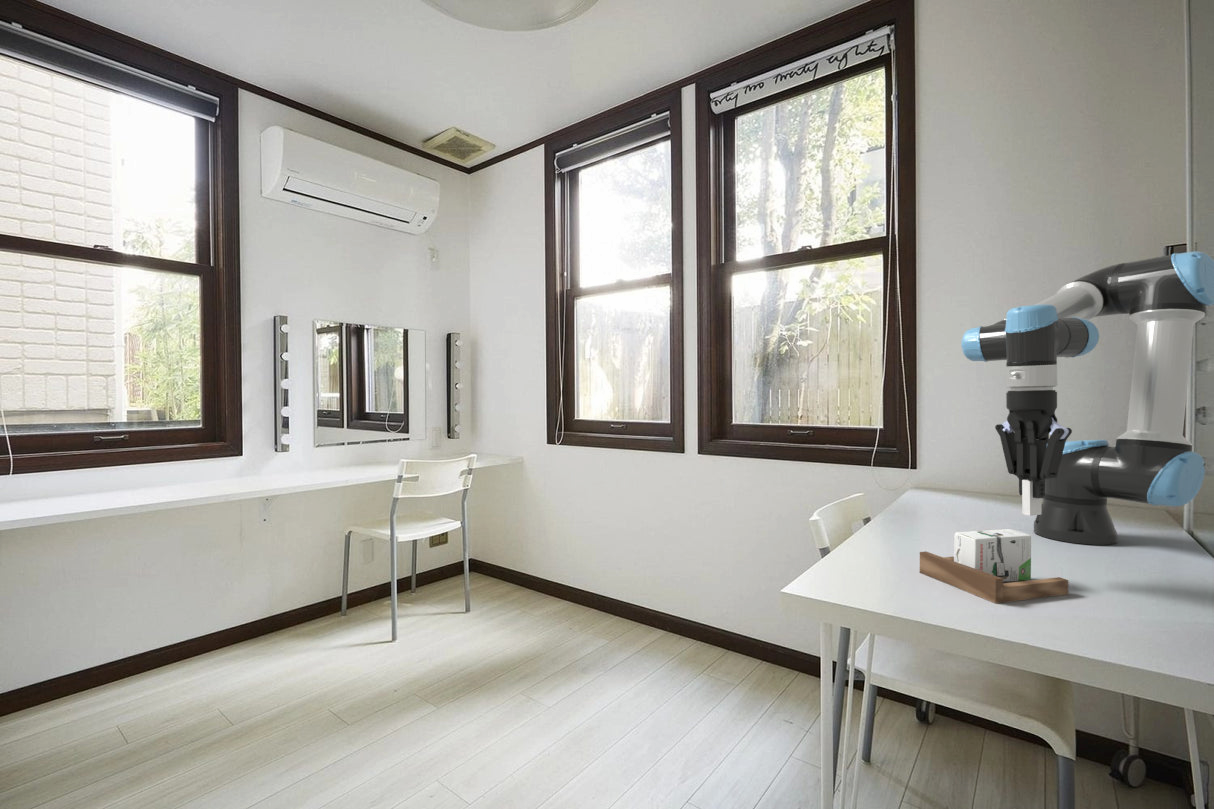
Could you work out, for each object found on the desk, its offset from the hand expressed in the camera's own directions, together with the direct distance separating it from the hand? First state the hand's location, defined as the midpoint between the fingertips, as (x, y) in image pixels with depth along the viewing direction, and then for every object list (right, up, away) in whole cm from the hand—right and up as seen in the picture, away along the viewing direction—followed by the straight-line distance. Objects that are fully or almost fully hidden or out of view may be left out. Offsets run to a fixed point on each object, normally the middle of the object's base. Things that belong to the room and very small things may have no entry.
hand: (1031, 514), depth 103 cm
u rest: (-10, -12, -3) cm, 16 cm away
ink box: (-3, -7, -1) cm, 8 cm away
